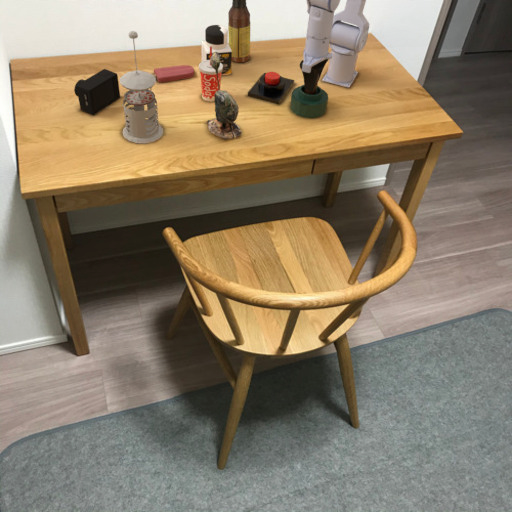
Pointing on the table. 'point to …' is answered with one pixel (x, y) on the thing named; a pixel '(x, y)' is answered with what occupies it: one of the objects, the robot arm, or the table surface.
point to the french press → (140, 105)
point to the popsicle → (173, 73)
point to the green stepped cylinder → (308, 102)
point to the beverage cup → (209, 79)
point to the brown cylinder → (313, 89)
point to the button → (272, 78)
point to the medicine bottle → (217, 46)
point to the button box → (271, 90)
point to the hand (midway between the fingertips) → (311, 85)
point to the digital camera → (97, 91)
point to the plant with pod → (223, 109)
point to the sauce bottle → (239, 31)
